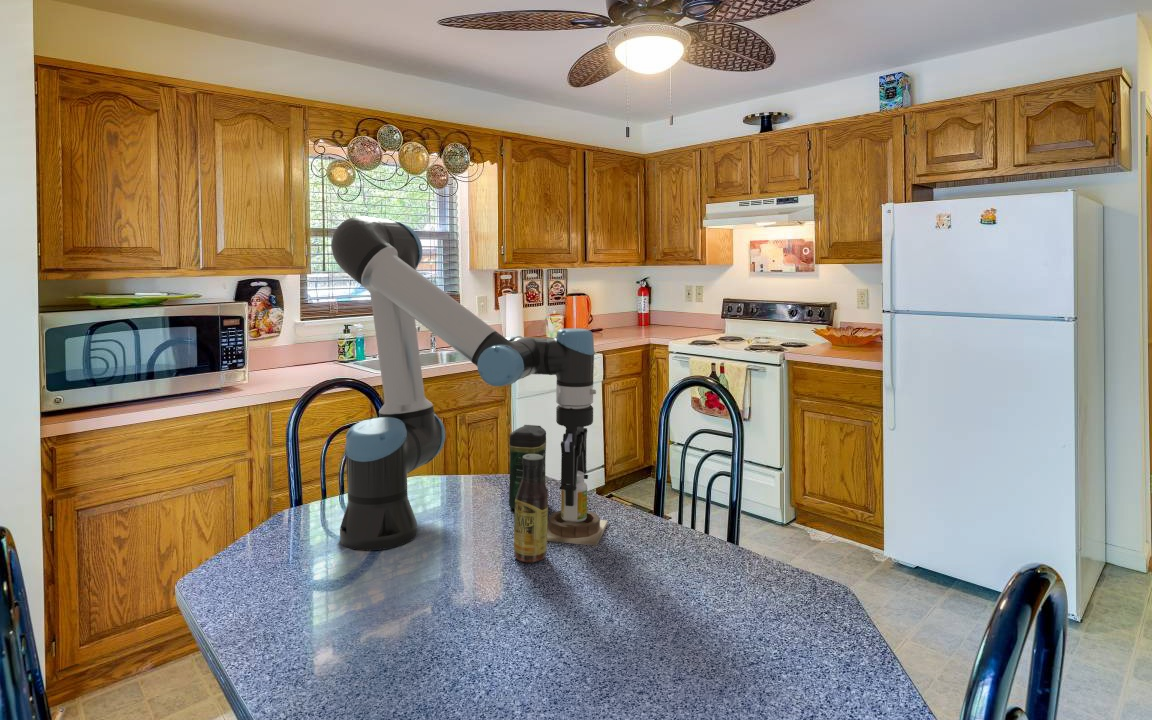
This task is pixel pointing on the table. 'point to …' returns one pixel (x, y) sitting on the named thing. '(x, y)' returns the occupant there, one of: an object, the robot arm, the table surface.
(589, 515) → the collar
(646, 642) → the table surface
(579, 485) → the supplement bottle
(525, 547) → the sauce bottle
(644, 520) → the table surface
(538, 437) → the coffee jar
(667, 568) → the table surface
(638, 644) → the table surface
